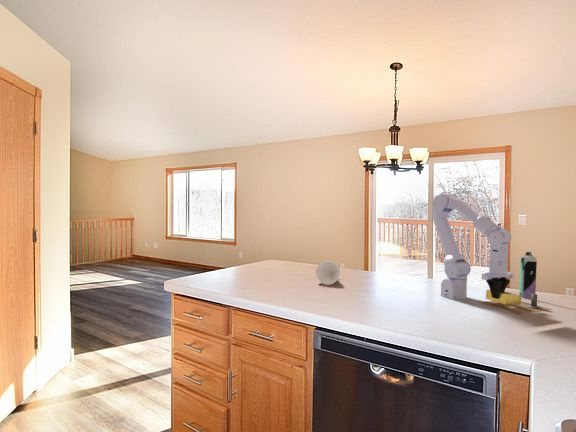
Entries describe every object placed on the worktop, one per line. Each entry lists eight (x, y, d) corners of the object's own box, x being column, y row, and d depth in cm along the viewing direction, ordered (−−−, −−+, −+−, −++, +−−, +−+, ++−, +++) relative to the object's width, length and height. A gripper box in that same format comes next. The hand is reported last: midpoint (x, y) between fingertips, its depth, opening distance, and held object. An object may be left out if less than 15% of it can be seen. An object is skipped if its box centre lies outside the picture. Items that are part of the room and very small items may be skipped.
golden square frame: (505, 304, 124) (506, 294, 124) (485, 298, 132) (486, 289, 132) (520, 304, 127) (521, 295, 127) (500, 299, 135) (501, 290, 135)
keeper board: (518, 317, 118) (519, 300, 118) (477, 305, 133) (478, 289, 133) (552, 312, 125) (553, 296, 125) (509, 301, 140) (510, 286, 139)
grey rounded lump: (333, 258, 184) (327, 255, 167) (349, 273, 180) (344, 272, 163) (318, 274, 185) (311, 272, 168) (333, 289, 181) (328, 289, 164)
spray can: (530, 302, 138) (532, 253, 138) (516, 299, 143) (517, 251, 143) (538, 301, 141) (539, 252, 140) (523, 297, 146) (525, 250, 145)
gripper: (494, 264, 121) (493, 302, 122) (522, 262, 127) (520, 299, 127) (477, 261, 128) (475, 297, 128) (504, 259, 133) (502, 294, 134)
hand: (497, 297), depth 128 cm, fingers closed on golden square frame
